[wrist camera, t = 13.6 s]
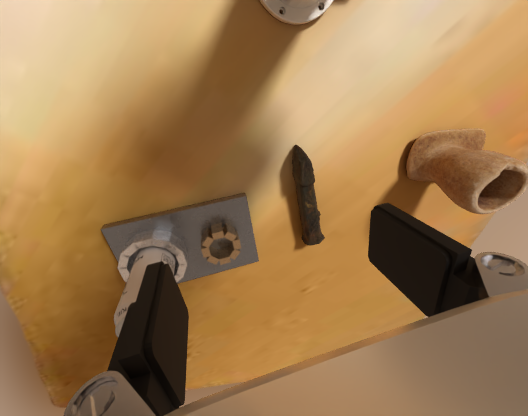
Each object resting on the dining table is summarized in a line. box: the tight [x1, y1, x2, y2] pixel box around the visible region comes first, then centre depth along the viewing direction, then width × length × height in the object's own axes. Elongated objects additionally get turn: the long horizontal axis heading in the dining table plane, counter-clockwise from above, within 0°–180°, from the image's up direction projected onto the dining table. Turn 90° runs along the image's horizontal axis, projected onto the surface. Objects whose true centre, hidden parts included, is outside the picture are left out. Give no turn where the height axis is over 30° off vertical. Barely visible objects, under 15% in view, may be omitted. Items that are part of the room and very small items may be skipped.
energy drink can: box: [114, 246, 176, 337], centre depth 34 cm, size 6×6×15 cm
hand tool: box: [292, 145, 325, 245], centre depth 43 cm, size 19×4×5 cm, turn 10°
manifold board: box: [101, 193, 259, 284], centre depth 41 cm, size 23×14×4 cm, turn 98°
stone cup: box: [406, 129, 528, 214], centre depth 42 cm, size 15×12×15 cm
